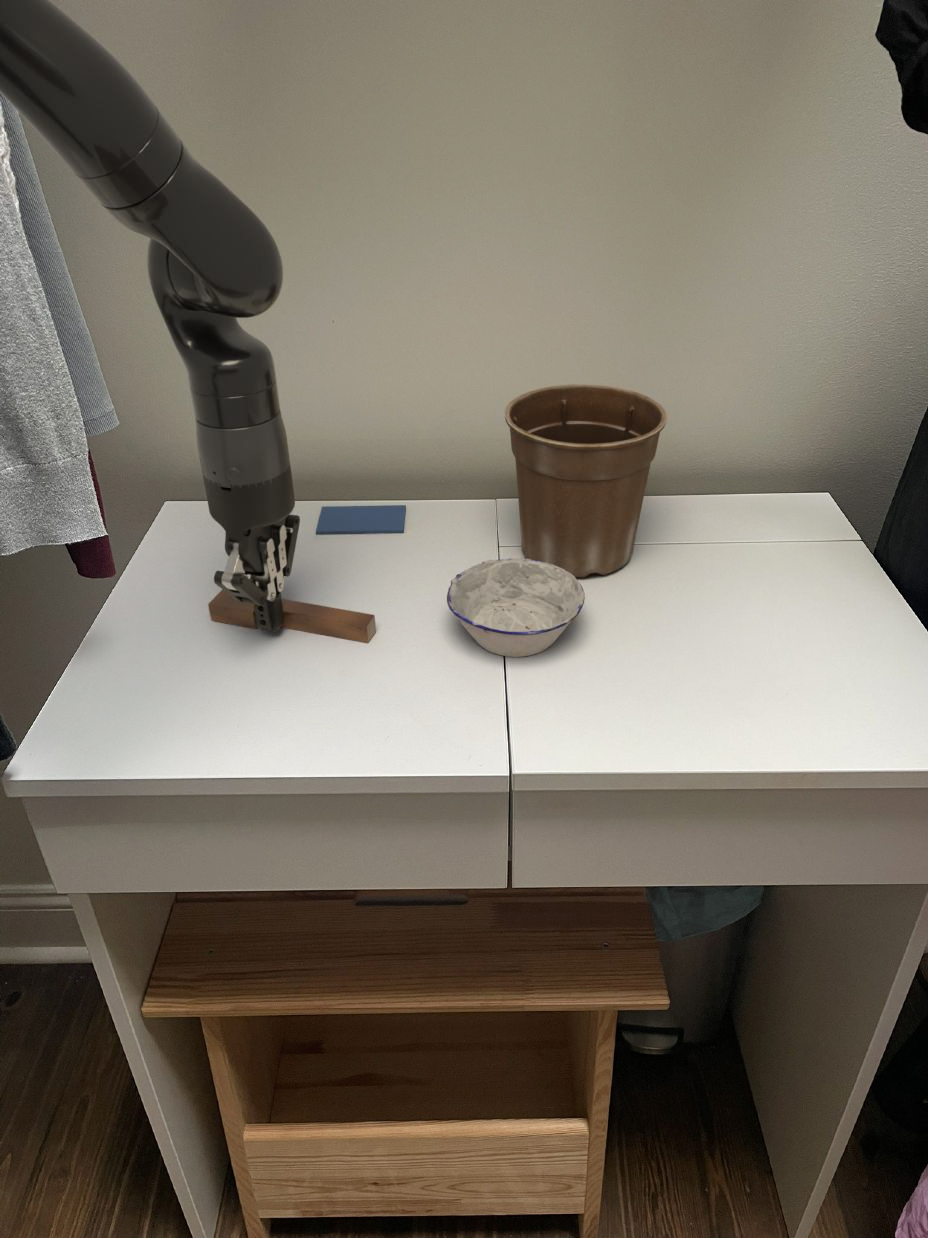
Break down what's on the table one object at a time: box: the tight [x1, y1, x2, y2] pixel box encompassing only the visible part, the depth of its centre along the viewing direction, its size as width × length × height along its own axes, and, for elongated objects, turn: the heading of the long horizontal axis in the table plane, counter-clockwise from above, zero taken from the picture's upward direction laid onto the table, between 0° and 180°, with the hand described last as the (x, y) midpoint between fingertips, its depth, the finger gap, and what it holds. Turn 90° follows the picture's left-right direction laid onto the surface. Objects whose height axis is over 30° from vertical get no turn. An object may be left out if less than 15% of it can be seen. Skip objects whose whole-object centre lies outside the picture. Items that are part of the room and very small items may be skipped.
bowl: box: [446, 558, 586, 658], centre depth 90 cm, size 13×13×5 cm
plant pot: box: [504, 383, 668, 578], centre depth 100 cm, size 16×16×16 cm
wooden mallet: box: [207, 589, 377, 644], centre depth 93 cm, size 16×4×2 cm, turn 72°
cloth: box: [315, 504, 407, 535], centre depth 110 cm, size 10×6×1 cm, turn 90°
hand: (271, 626), depth 91 cm, fingers closed
